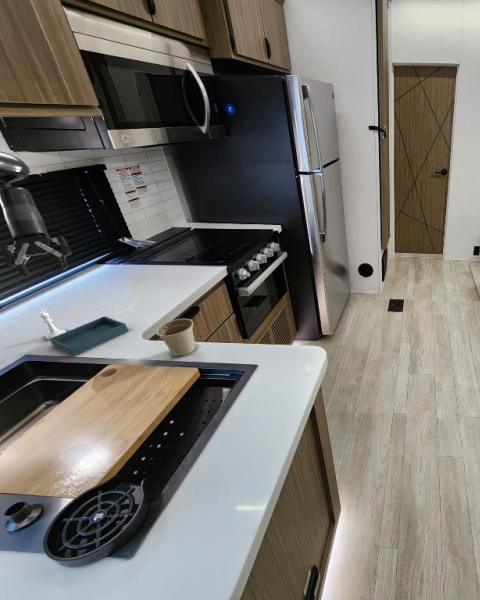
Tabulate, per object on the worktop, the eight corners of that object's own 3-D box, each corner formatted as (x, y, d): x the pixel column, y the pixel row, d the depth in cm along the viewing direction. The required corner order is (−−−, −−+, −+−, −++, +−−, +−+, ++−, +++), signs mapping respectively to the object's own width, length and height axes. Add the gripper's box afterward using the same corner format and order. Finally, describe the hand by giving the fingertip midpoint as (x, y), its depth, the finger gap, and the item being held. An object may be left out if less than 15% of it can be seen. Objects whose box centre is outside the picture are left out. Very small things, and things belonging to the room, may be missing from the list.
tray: (74, 356, 99) (69, 348, 98) (53, 346, 104) (49, 338, 103) (128, 330, 111) (125, 323, 110) (107, 322, 116) (104, 316, 115)
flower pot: (186, 361, 96) (176, 337, 92) (158, 358, 98) (147, 334, 94) (208, 343, 105) (200, 319, 101) (182, 340, 106) (173, 317, 102)
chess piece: (42, 338, 108) (25, 312, 103) (59, 330, 112) (44, 304, 107) (53, 340, 107) (37, 313, 102) (70, 332, 111) (55, 306, 106)
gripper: (-16, 223, 94) (7, 278, 95) (51, 214, 100) (71, 265, 102) (0, 231, 100) (21, 281, 101) (61, 221, 107) (80, 269, 108)
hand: (46, 273), depth 101 cm, fingers open, 8 cm apart
